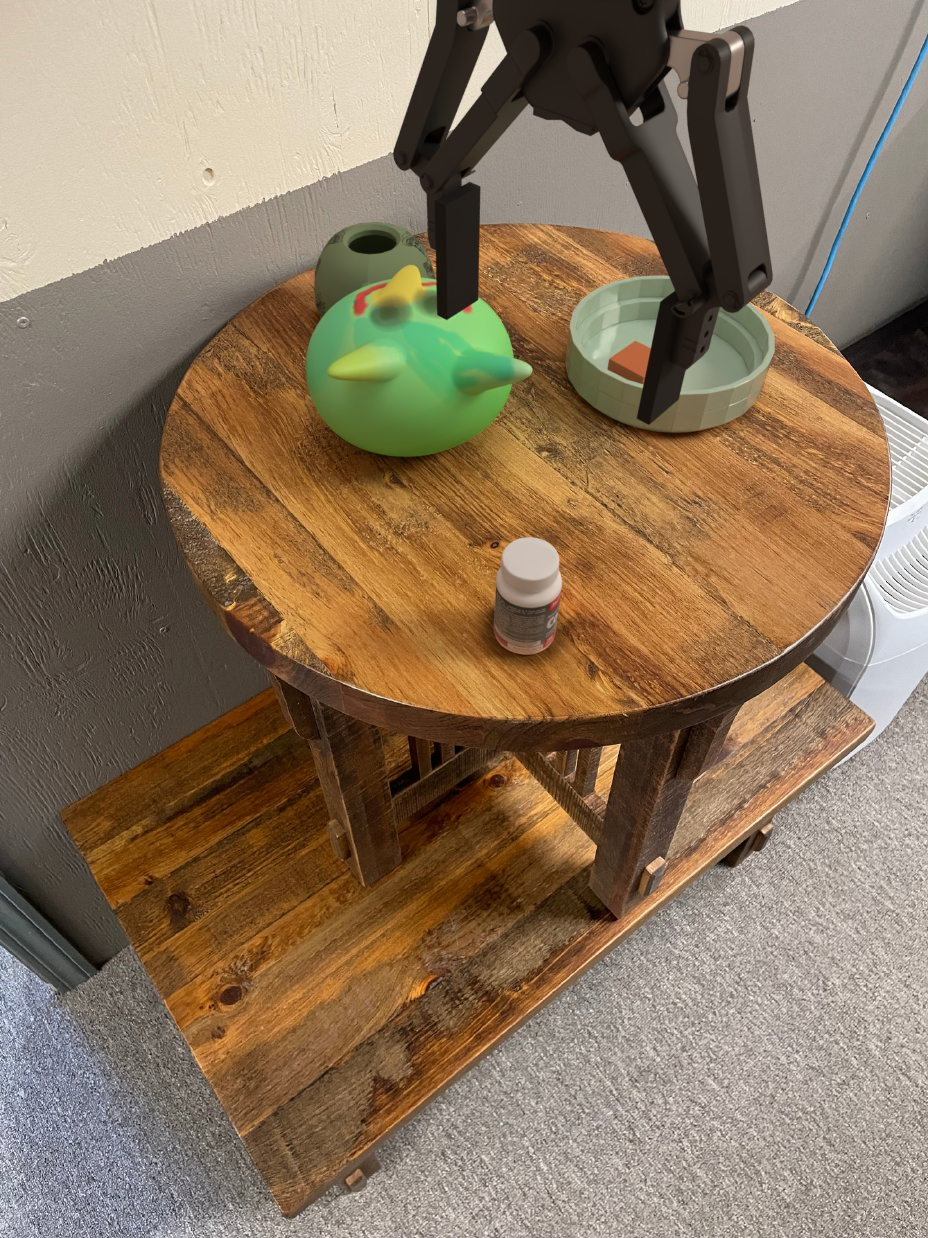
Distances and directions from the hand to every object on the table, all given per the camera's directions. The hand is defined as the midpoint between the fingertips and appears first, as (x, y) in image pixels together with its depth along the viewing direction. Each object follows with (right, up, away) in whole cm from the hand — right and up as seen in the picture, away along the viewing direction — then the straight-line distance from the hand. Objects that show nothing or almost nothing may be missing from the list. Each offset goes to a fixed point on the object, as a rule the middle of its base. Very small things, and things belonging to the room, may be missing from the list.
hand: (551, 356), depth 47 cm
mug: (-14, +17, +44) cm, 49 cm away
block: (+11, +7, +36) cm, 39 cm away
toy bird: (-9, +3, +34) cm, 35 cm away
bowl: (+15, +10, +39) cm, 43 cm away
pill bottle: (0, -15, +20) cm, 25 cm away
